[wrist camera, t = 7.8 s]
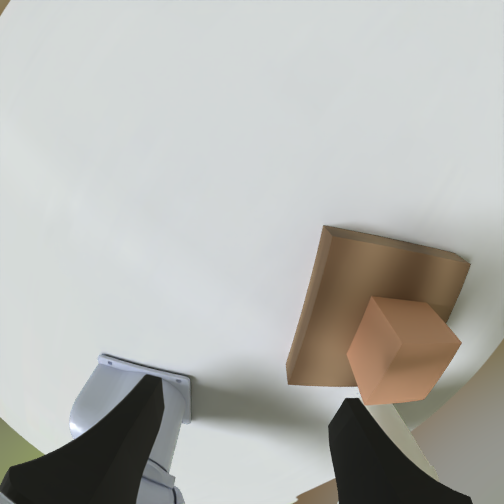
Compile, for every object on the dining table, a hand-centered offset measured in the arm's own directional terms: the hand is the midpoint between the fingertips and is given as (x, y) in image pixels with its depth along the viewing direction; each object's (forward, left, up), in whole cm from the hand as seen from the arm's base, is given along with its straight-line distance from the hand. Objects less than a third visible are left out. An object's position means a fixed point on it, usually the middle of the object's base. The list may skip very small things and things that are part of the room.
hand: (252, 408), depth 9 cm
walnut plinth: (+10, -1, -11) cm, 15 cm away
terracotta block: (+10, -1, -8) cm, 13 cm away
